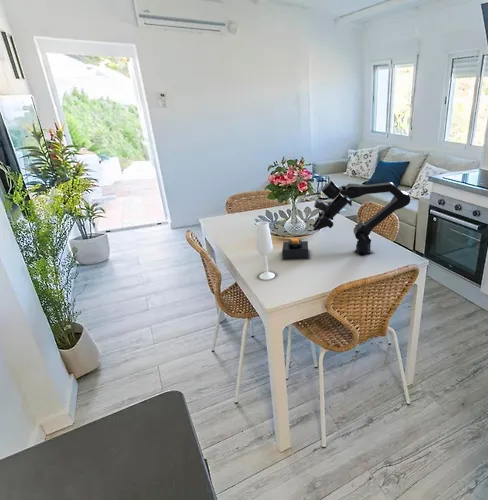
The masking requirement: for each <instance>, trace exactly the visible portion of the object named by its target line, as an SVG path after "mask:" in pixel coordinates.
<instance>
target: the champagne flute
mask: <svg viewBox="0 0 488 500" xmlns="http://www.w3.org/2000/svg"><path fill="white" fill-rule="evenodd" d="M255 224H256V225H255V226H256V228H255V229H256V230H255V231H256V232H255V234H256V235H255V236H256V239H255V241H256V242H255V243H256V245H255V246H256V251H257V253H259V255H261V256H263V259H264V260H263V262H264V272H262V273H261V274H259V279H260V280H272V279H274V278H275V277H276V274H275V273H274V272H271V271H269V266H268V256H269V255H270V254H271V253H272V251H273V249H274V246H273V242H272V236H271V235H272V234H271V230H270V224H269V222H268V221H266V220H265V221H264V220H263V221H258V222H256V223H255Z"/></svg>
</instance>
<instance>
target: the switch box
mask: <svg viewBox="0 0 488 500" xmlns="http://www.w3.org/2000/svg"><path fill="white" fill-rule="evenodd" d="M281 251H282V260H283V261H289V260H290V261H291V260H309V258H310V257H309V241H308V240H302V239H299V243H297V244H293V243H292V241H291V239H290V240H288V241H283V243H282V250H281Z"/></svg>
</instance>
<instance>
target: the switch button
mask: <svg viewBox="0 0 488 500" xmlns="http://www.w3.org/2000/svg"><path fill="white" fill-rule="evenodd" d="M290 240H291V241H292V243H293V244H297V243H299V240H300V238H298V237H293V238H291V239H290Z"/></svg>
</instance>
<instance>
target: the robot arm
mask: <svg viewBox="0 0 488 500" xmlns="http://www.w3.org/2000/svg"><path fill="white" fill-rule="evenodd" d="M320 191H321V192H322V193H323V195H325V196H326V197H327V198H328V199H329V200H332V201H329V202H328V203H327V202H325V201H323V200H321V199H318V198H316V200H315V201H314V204H313V205H314V207H313V208H315V209H317V210H319V211H318V217H317V218H316V220H315V221H314V224H313V225H312V227H313V229H312V230H313V231H319V230H321V229H324V228H329V229H332V228H333V227H334V218H335V217H336V216H337V215H339V214H340V213H341V211H342V210H343V209H344V208H345V207H346V206H347V205H349V206H350V207H352V206H353V199H357V198H360V197H362V196H364V195H372V194H383V193H390V194H391V195H392V196H393V197H392V198H391V200H390V202H389V203H387V204H386V205H385V206H384V207H383V208H381V209H380V210H379V211H378V212H377V213H375V214H374V215H372V216H371V218H369V219H367V220H366V221H363V220H359V222H358V223H357V224H354V226H355V227H354V228H353V234H354V237H355V239H356V240H357V241H356V244H355V250H354V253H357V254H358V255H360V256H361V257H363V256H367V255H370V254H373V251H371V246H372V245H371V242H372V239H371V237H370V234H371V232H372V231H373V229H374V228H376V227H377V226H378V225H380V224H381V223H382V222H383V221H384V220H386V219H387V218H388V217H390V216H391V215H392V214H393V213H395V211H397V210H401V209H403V208H404V207H406V206H409V204H410V203H411V195H409V194H408V193H407V192H406V191H405V190H400V189H399V188H398V187H397V186H396V185H395V184H394V183H393V182H391V181H388V182H381V183H371V184H359V183H347V184H346V185H344V186H337V184H335V182H334V181H333V180H332V179H331V180H330V181H329V182H327V183H325V184H324V186H323V187H321V190H320Z"/></svg>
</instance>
